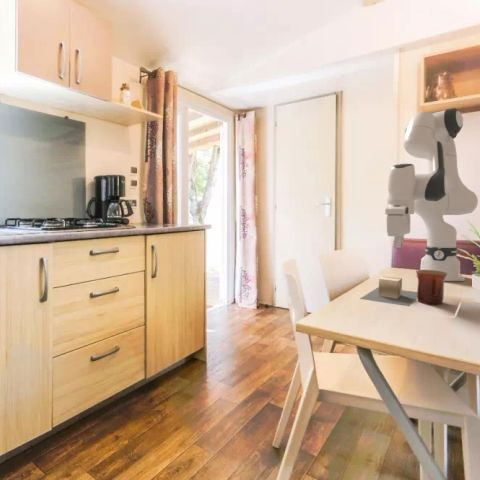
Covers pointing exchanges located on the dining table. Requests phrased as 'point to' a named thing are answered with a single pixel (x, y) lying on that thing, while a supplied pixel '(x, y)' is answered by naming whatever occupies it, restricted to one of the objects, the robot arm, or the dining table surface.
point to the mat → (404, 299)
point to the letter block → (390, 287)
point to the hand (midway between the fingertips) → (398, 247)
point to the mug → (430, 286)
